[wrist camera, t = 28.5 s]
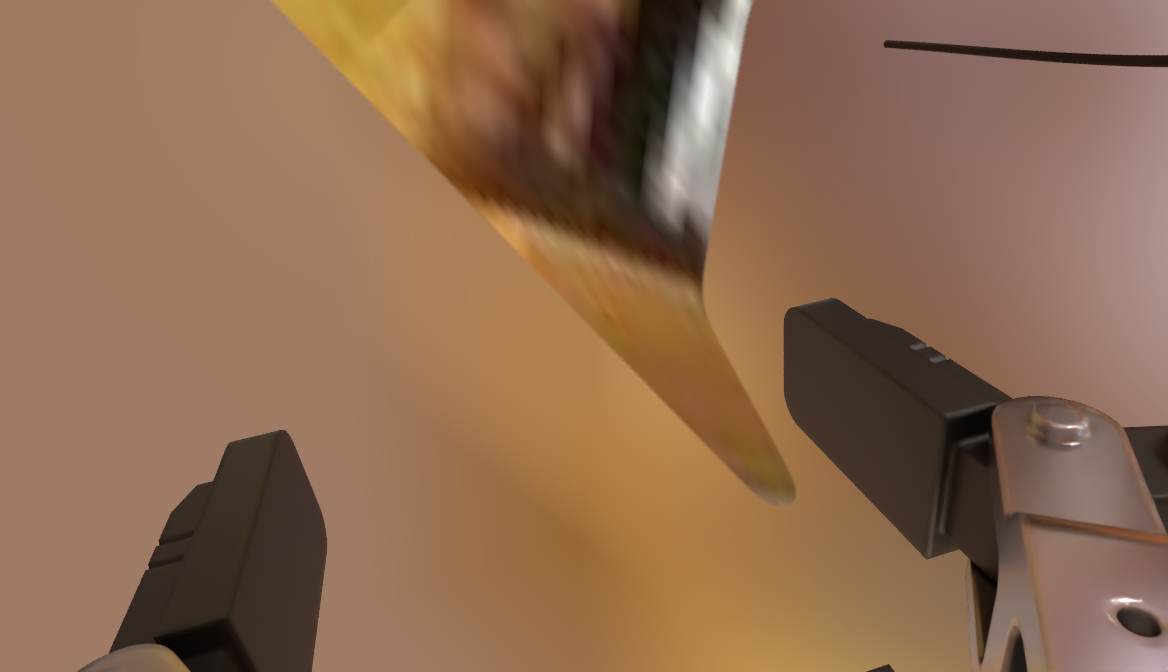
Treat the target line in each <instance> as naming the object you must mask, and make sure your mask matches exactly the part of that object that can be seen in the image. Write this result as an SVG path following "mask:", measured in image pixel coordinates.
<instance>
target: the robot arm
mask: <svg viewBox="0 0 1168 672" xmlns="http://www.w3.org/2000/svg"><path fill="white" fill-rule="evenodd" d="M884 47H885V48H896V49H909V50H921V51H933V52H945V53H955V54H966V55H977V56H987V57H998V58H1009V59H1021V60H1033V61H1045V62H1058V63H1073V64H1088V65H1107V66H1128V67H1168V55H1112V54H1085V53H1065V52H1048V51H1033V50H1019V49H1004V48H992V47H979V46H966V45H952V44H940V43H926V42H911V41H894V40H886V41H885V42H884ZM784 395H785V399H786V403H787V407H788V410H789V412H790V414H791V416H792V418H793V420H794V421H795V423H796V424H797V425H798V426H799V427H800V428H801V429H802V430H803V431H804V433H805V434H806V435H807V436H808V437H809V438H810V439H811V440H812V441H813V442H814V443H815V444H816V445H817V446H818V447H819V448H820V449H821V450H822V451H823V452H824V453H825V454H826V455H827V456H828V458H829V459H830V460H831V461H832V462H834V464H835V465H836V466H837V467H838V468H839V469H840V470H841V471H842V472H843V473H844V474H845V475H846V476H847V477H848V478H849V479H850V480H851V481H852V482H853V483H854V484H855V486H856V487H857V488H858V489H859V490H860V491H861V492H862V493H863V494H864V495H865V496H866V497H867V498H868V499H869V500H870V501H871V502H872V503H873V504H874V505H875V506H876V507H877V508H878V509H879V510H880V512H881V513H882V514H883V515H885V517H887V519H888V520H889V521H890V522H891V523H892V524H893V525H894V526H895V527H896V528H897V529H898V530H899V531H900V532H901V533H902V534H903V535H904V536H905V538H907V539H908V541H909V542H910V543H911V544H912V545H913V546H914V547H915V548H916V549H917V550H918V551H919V552H920V553H921V554H922V555H923V556H924V557H925V558H926V559H930V558H933V557H936V556H939V555H942V554H945V553H949V552H952V551H955V550H958V549H960V550H961V551H962V552H963V553H964V554H965V555H966V556H967V557H968V561H967V567H966V575H965V579H966V595H967V610H968V623H969V640H970V655H971V669H972V672H1168V426H1148V427H1126V428H1122V427H1121V426H1120V425H1119V424H1118V423H1117V422H1116V421H1115V420H1114V419H1112V418H1111V417H1110V416H1108V415H1106V414H1105V413H1103V412H1101V411H1099V410H1097V409H1094V408H1092V407H1090V406H1087V405H1084V404H1082V403H1078V402H1075V401H1071V400H1066V399H1062V398H1055V397H1043V396H1028V397H1020V398H1015V399H1012V398H1011V397H1009V396H1008V395H1006V394H1005V393H1003V392H1001V391H1000V390H998V389H997V388H995V387H993V386H992V385H990V384H989V383H987V382H986V381H984V380H982V379H981V378H979V377H978V376H976V375H975V374H973V373H971V372H970V371H968V370H967V369H965V368H964V367H962V366H960V365H959V364H957V363H956V362H954V361H952V360H951V359H949V360H946V358H945V356H944V355H943V354H941V353H940V352H938V351H937V350H935V349H933V348H932V347H926V344H925V343H924V342H922V341H921V340H919V339H918V338H916V337H915V336H913V335H911V334H910V333H908V332H907V331H905V330H904V329H902V328H899V327H895V326H892V325H889V324H886V323H883V322H880V321H876V320H873V319H867V318H865V317H864V316H862V315H861V314H859V313H858V312H856V311H855V310H853V309H851V308H850V307H849V306H847V305H846V304H844V303H843V302H841V301H840V300H838V299H835V298H830V299H826V300H822V301H818V302H813V303H809V304H805V305H801V306H797V307H793V308H790V309H789V310H788V311H787V312H786V315H785V318H784ZM326 554H327V537H326V529H325V524H324V520H323V516H322V512H321V510H320V507H319V504H318V502H317V500H316V497H315V495H314V492H313V490H312V487H311V485H310V482H309V480H308V477H307V475H306V472H305V470H304V468H303V465H302V463H301V460H300V458H299V455H298V453H297V450H296V448H295V445H294V443H293V441H292V439H291V437H290V436H289V434H288V433H287V432H286V431H285V430H279V431H275V432H271V433H267V434H263V435H259V436H254V437H250V438H246V439H242V440H238V441H234V442H231V443H229V444H228V445H227V447H226V450H225V452H224V455H223V457H222V460H221V462H220V465H219V468H218V470H217V473H216V476H215V478H214V481H212V482H208V483H204V484H200V485H197V486H196V487H195V488H194V489H193V490H192V491H191V492H190V493H189V494H188V495H187V497H186V498H185V499H184V500H183V501H182V502H181V503H180V504H179V505H178V506H177V507H176V508H175V509H174V510H173V511H172V512H171V514H170V517H169V519H168V521H167V523H166V525H165V528H164V530H163V532H162V534H161V537H160V539H159V546H156V548H155V550H154V552H153V555H152V557H151V559H150V561H149V564H148V565H149V570H146V571H145V573H144V575H143V577H142V579H141V582H140V584H139V586H138V588H137V591H136V593H135V595H134V597H133V600H132V602H131V604H130V606H129V609H128V611H127V613H126V615H125V618H124V620H123V622H122V624H121V627H120V629H119V631H118V633H117V636H116V638H115V640H114V642H113V645H112V647H111V649H110V651H109V654H107V655H105V656H103V657H101V658H99V659H97V660H95V661H93V662H91V663H90V664H88V665H87V666H85V667H83V668H82V669H80V670H79V671H78V672H312V664H313V655H314V648H315V640H316V632H317V624H318V617H319V609H320V601H321V593H322V585H323V578H324V570H325V562H326ZM868 672H894V670H893V669H892V668H891V666H890V665H889V664H888V665H885V666H882V667H879V668H876V669H873V670H871V671H868Z"/></svg>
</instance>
